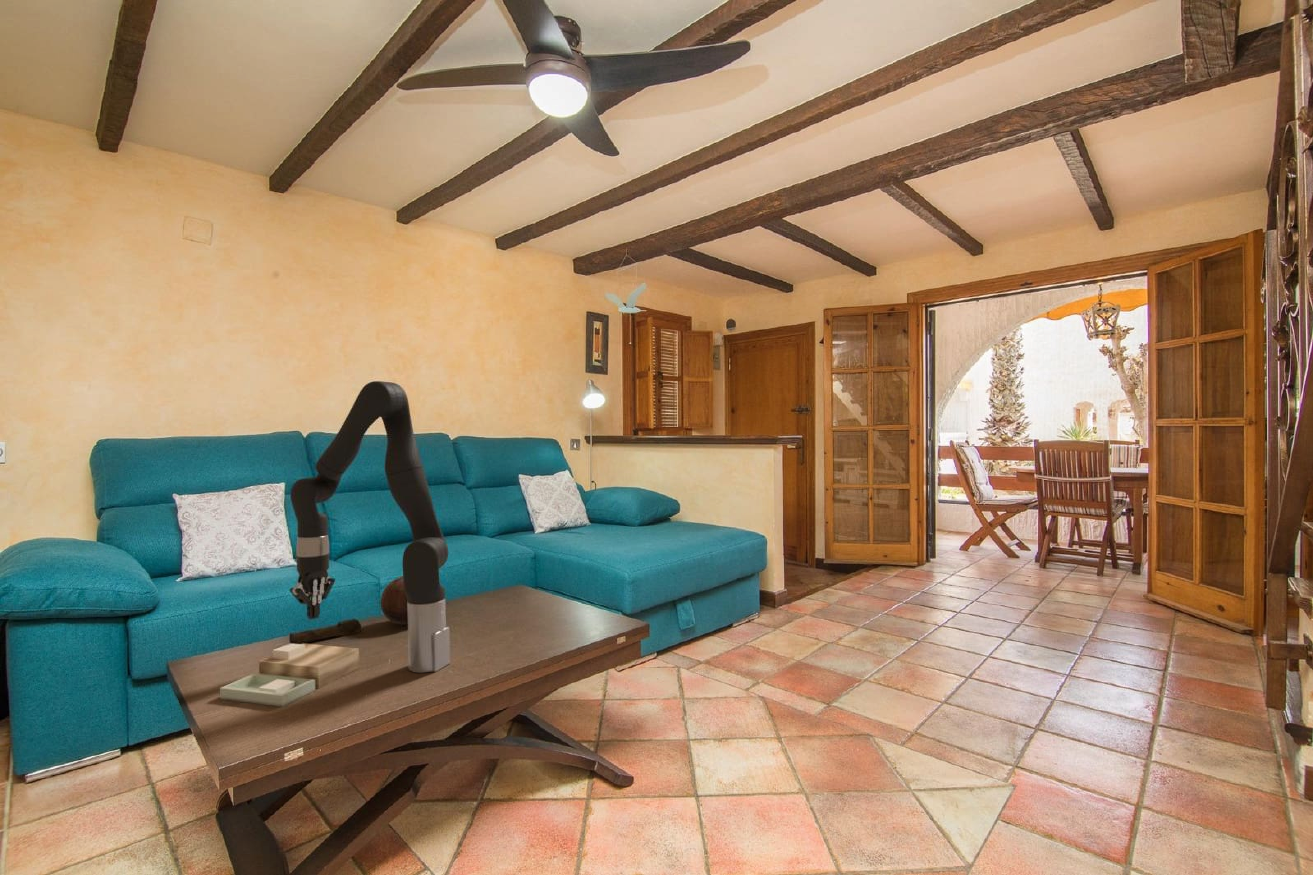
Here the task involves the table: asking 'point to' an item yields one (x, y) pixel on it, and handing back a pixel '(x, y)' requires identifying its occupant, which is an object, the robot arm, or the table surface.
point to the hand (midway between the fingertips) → (313, 618)
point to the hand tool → (327, 632)
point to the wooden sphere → (395, 602)
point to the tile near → (278, 686)
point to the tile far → (289, 651)
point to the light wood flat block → (314, 664)
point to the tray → (250, 692)
